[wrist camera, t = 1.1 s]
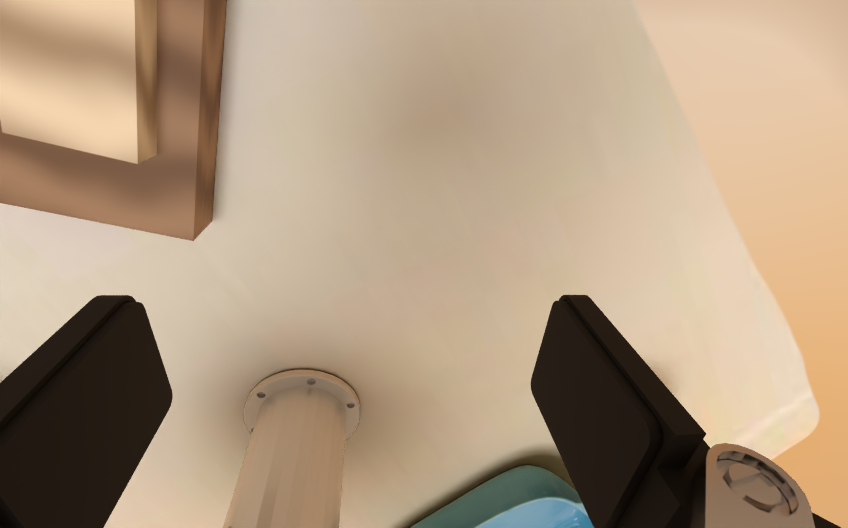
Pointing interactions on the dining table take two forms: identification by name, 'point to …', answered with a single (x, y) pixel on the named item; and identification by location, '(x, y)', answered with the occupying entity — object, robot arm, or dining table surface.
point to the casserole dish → (514, 503)
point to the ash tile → (81, 74)
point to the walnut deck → (176, 143)
